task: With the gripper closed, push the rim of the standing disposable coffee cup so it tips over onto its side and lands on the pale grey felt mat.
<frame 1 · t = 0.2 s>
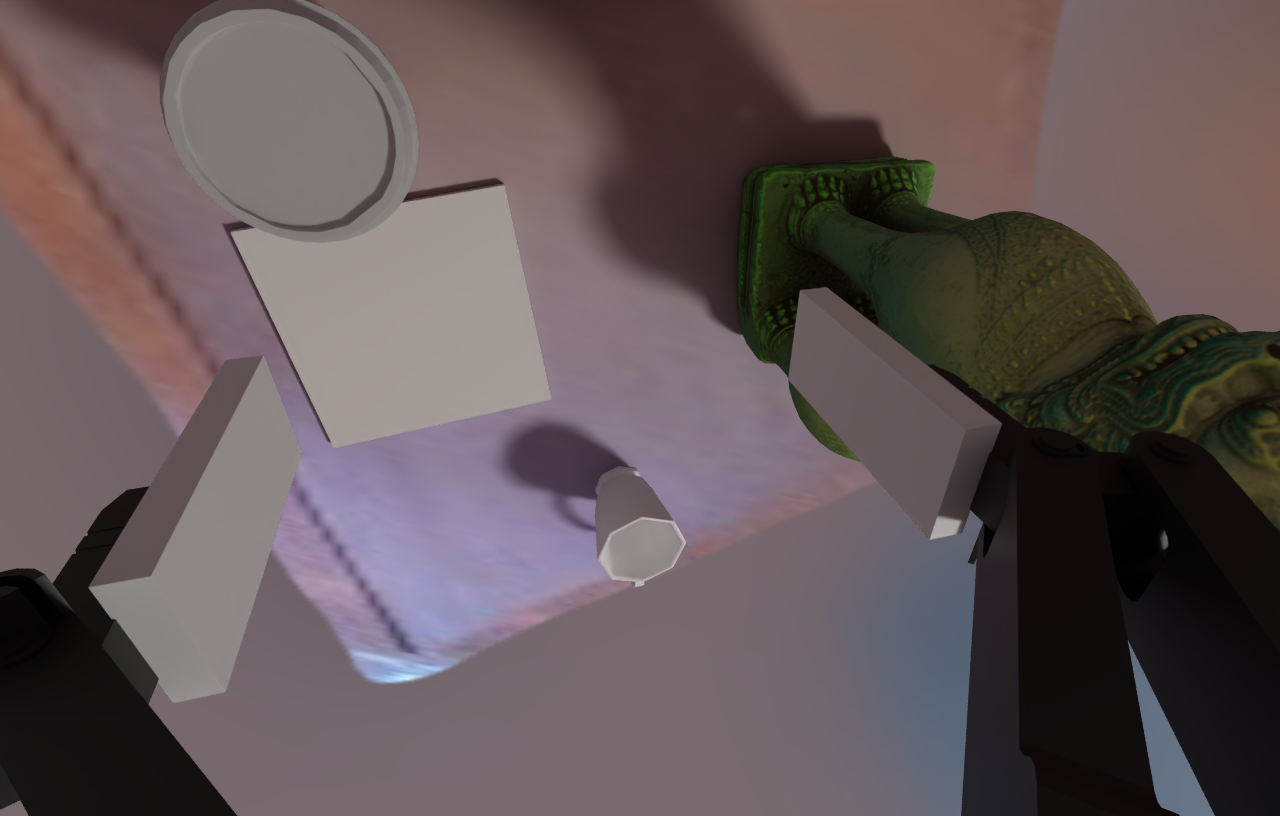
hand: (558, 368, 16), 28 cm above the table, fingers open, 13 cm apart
disposable coffee cup: (335, 96, 35), on the table
cup: (619, 497, 56), on the table
felt mat: (412, 323, 43), on the table
lion statue: (806, 256, 48), on the table
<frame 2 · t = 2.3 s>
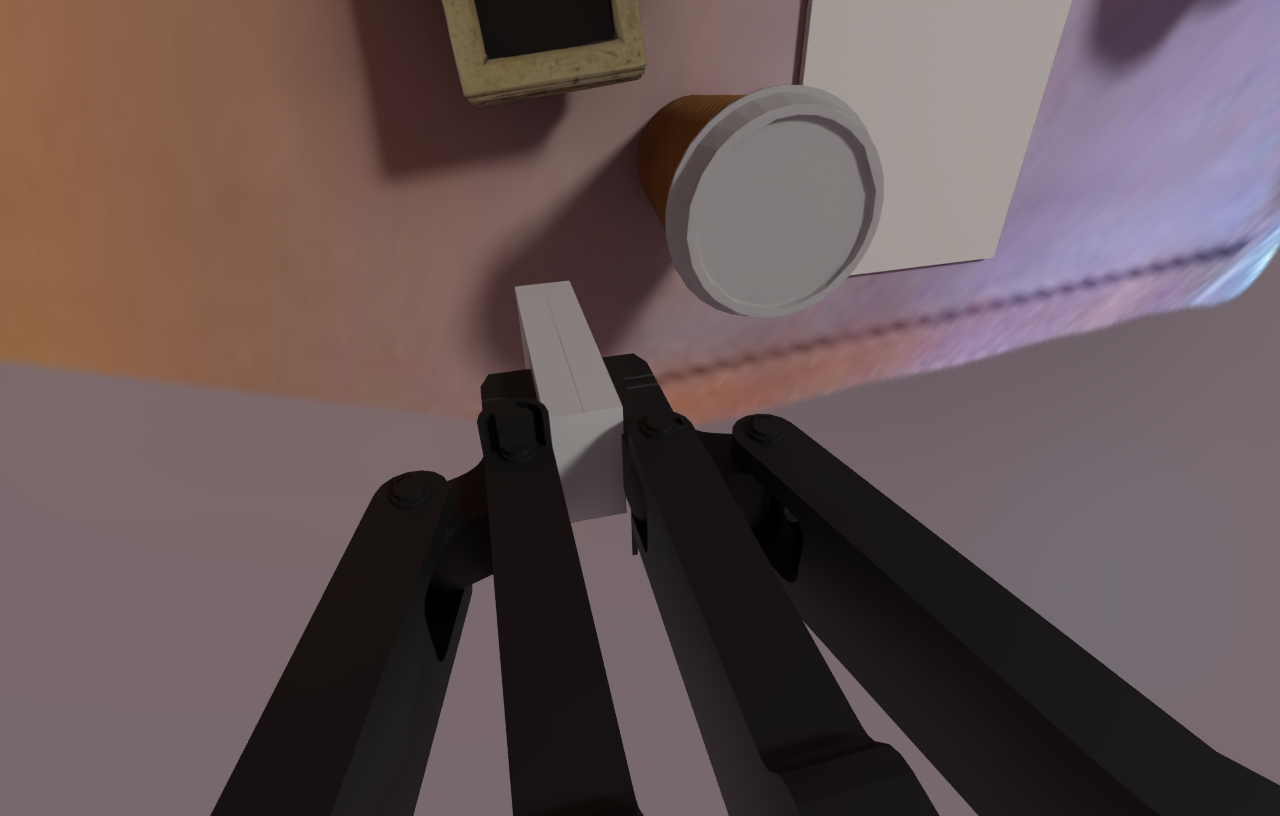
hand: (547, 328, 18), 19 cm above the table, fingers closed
disposable coffee cup: (691, 156, 35), on the table
felt mat: (913, 140, 38), on the table
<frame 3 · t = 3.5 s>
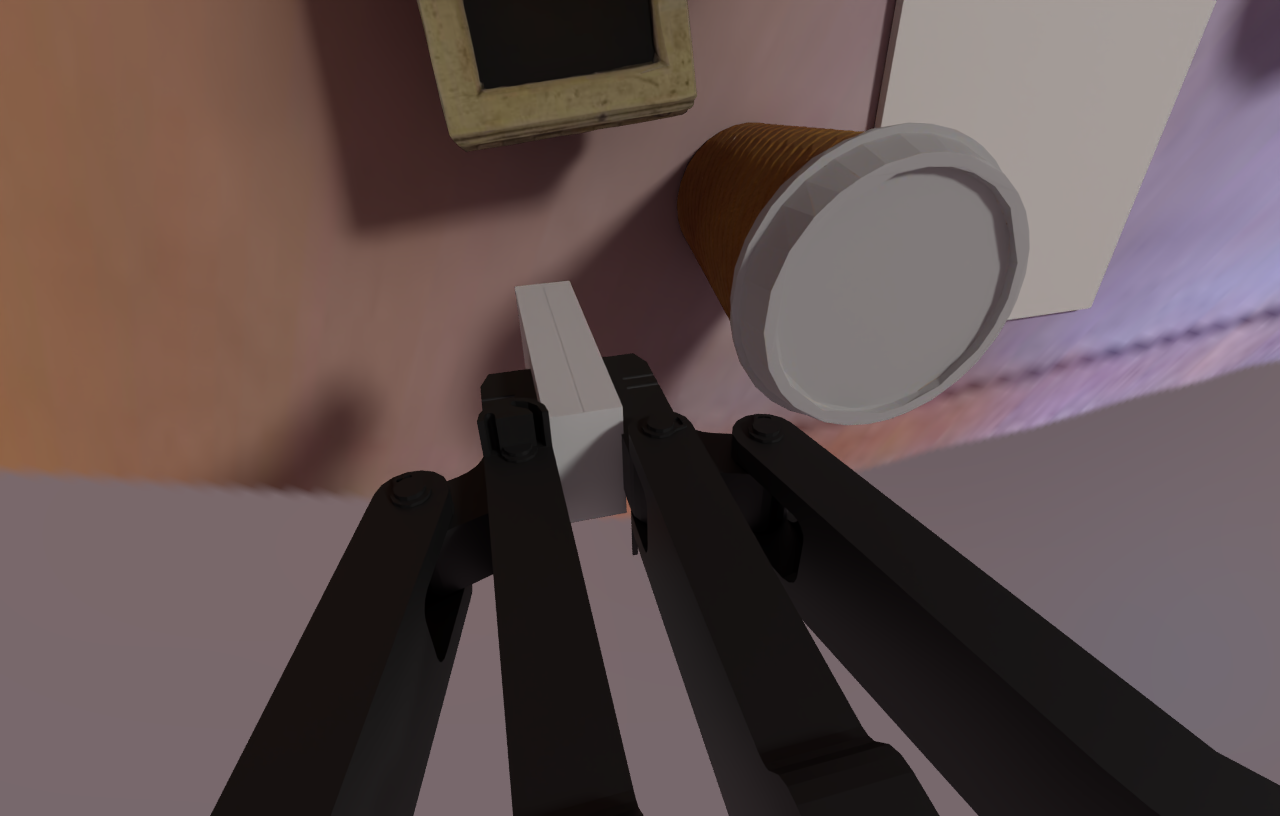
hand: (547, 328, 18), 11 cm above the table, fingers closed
disposable coffee cup: (741, 197, 29), on the table
felt mat: (1009, 174, 31), on the table
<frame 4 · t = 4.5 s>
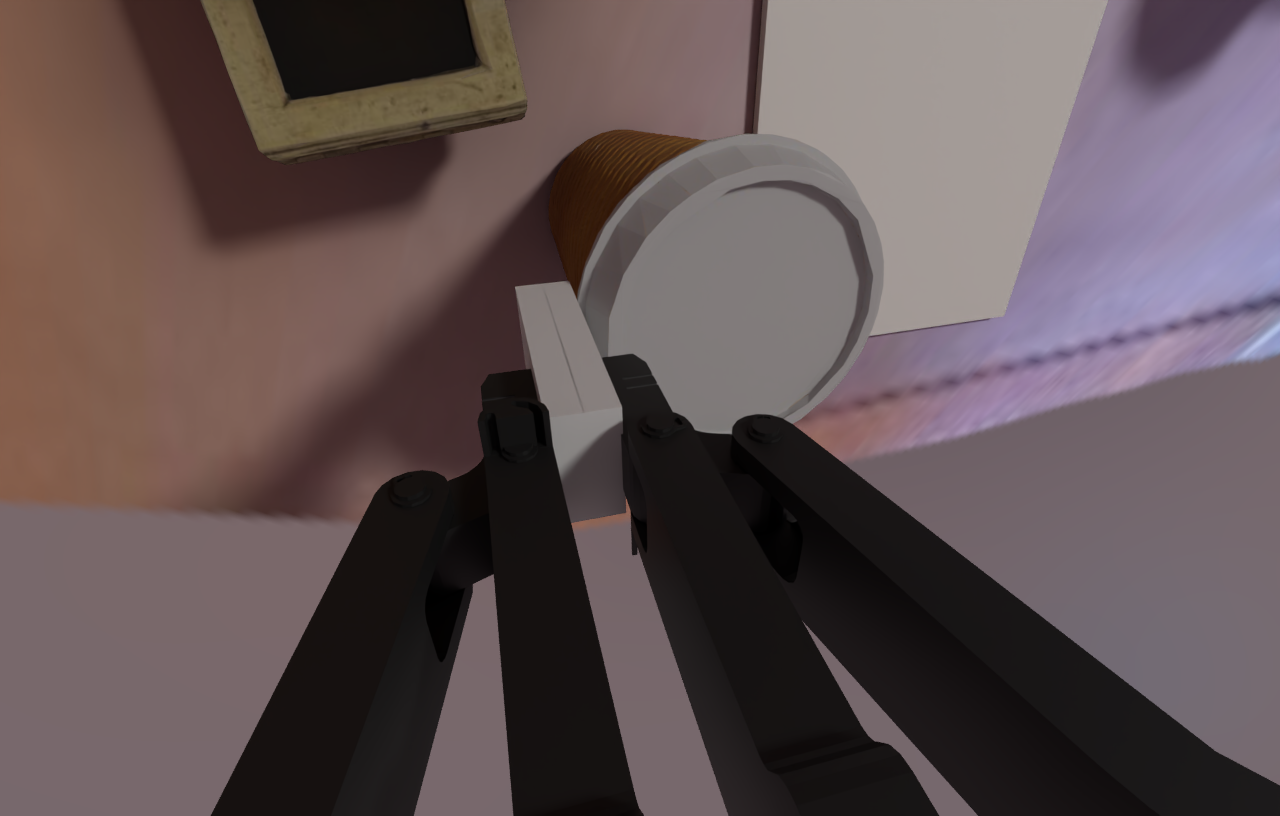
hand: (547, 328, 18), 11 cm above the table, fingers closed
disposable coffee cup: (619, 207, 27), on the table
felt mat: (904, 180, 30), on the table
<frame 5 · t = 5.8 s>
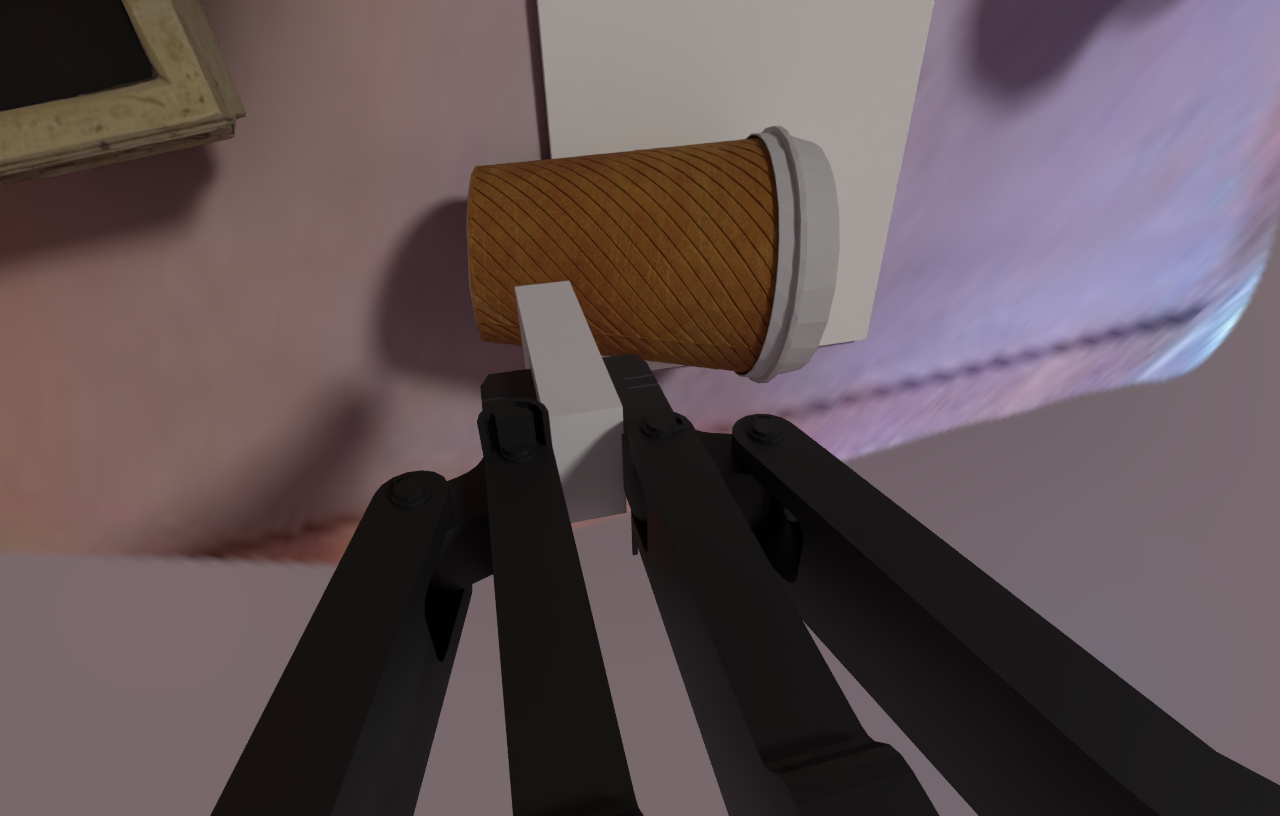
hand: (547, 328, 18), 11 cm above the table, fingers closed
disposable coffee cup: (474, 256, 23), point 3 cm above the table, touching felt mat
felt mat: (732, 198, 28), on the table
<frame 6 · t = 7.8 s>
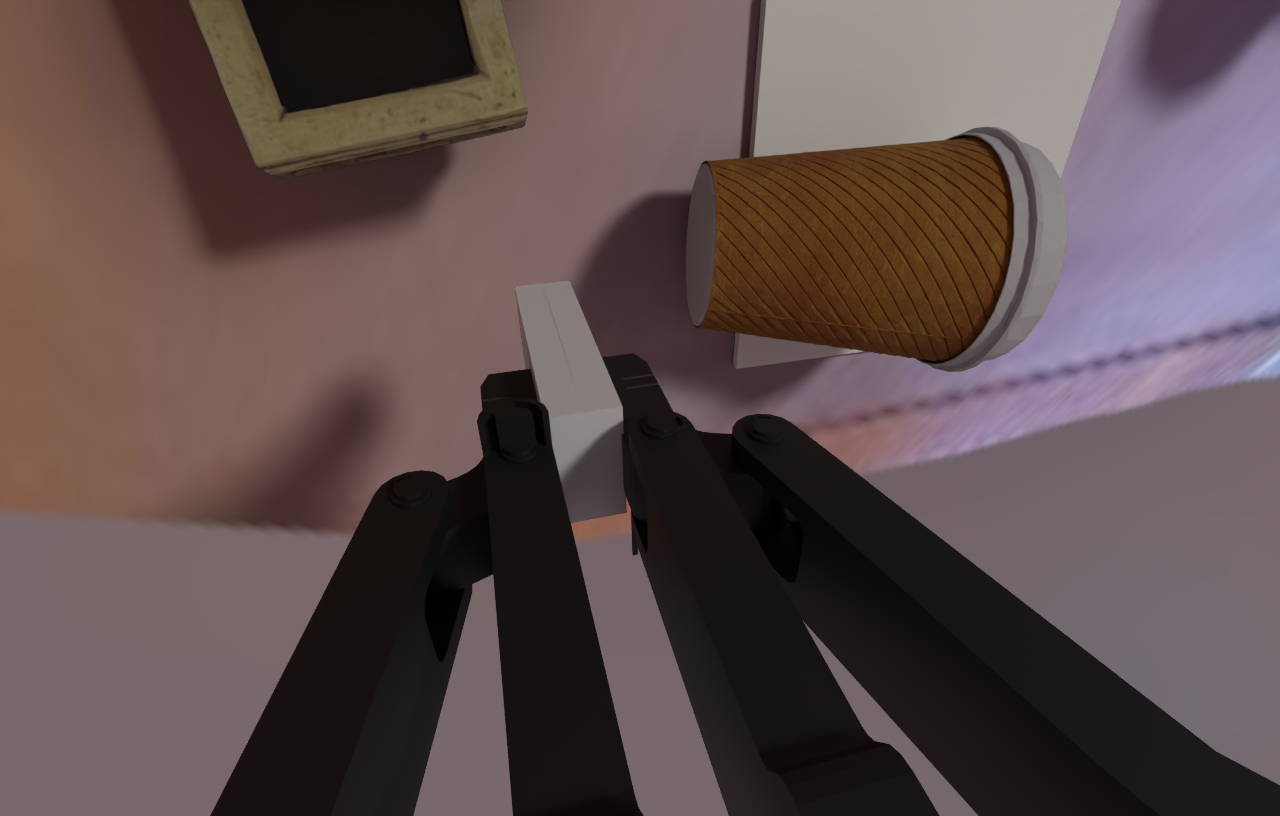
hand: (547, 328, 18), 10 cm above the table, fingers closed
disposable coffee cup: (692, 246, 25), point 3 cm above the table, touching felt mat
felt mat: (906, 192, 30), on the table
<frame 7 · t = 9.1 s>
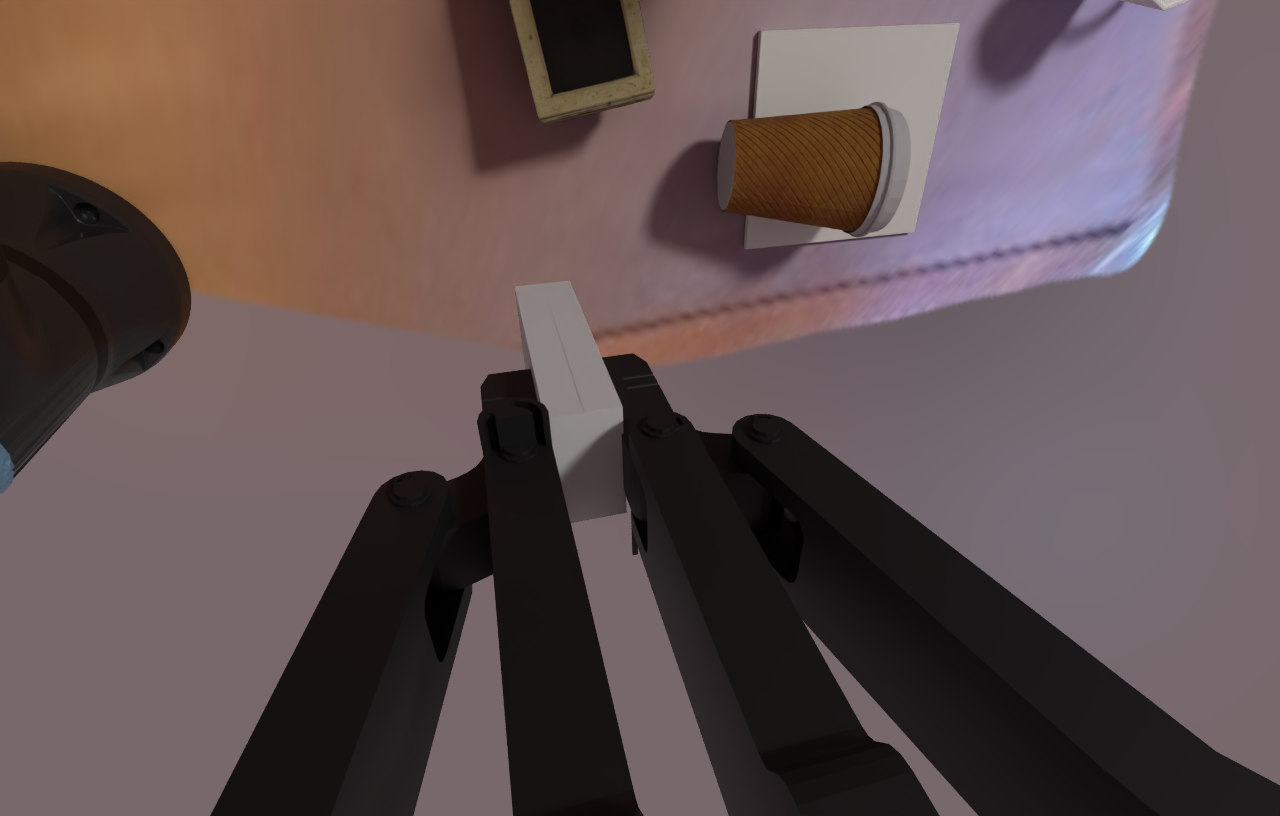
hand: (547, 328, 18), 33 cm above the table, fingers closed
disposable coffee cup: (722, 166, 47), point 3 cm above the table, touching felt mat
felt mat: (843, 141, 51), on the table
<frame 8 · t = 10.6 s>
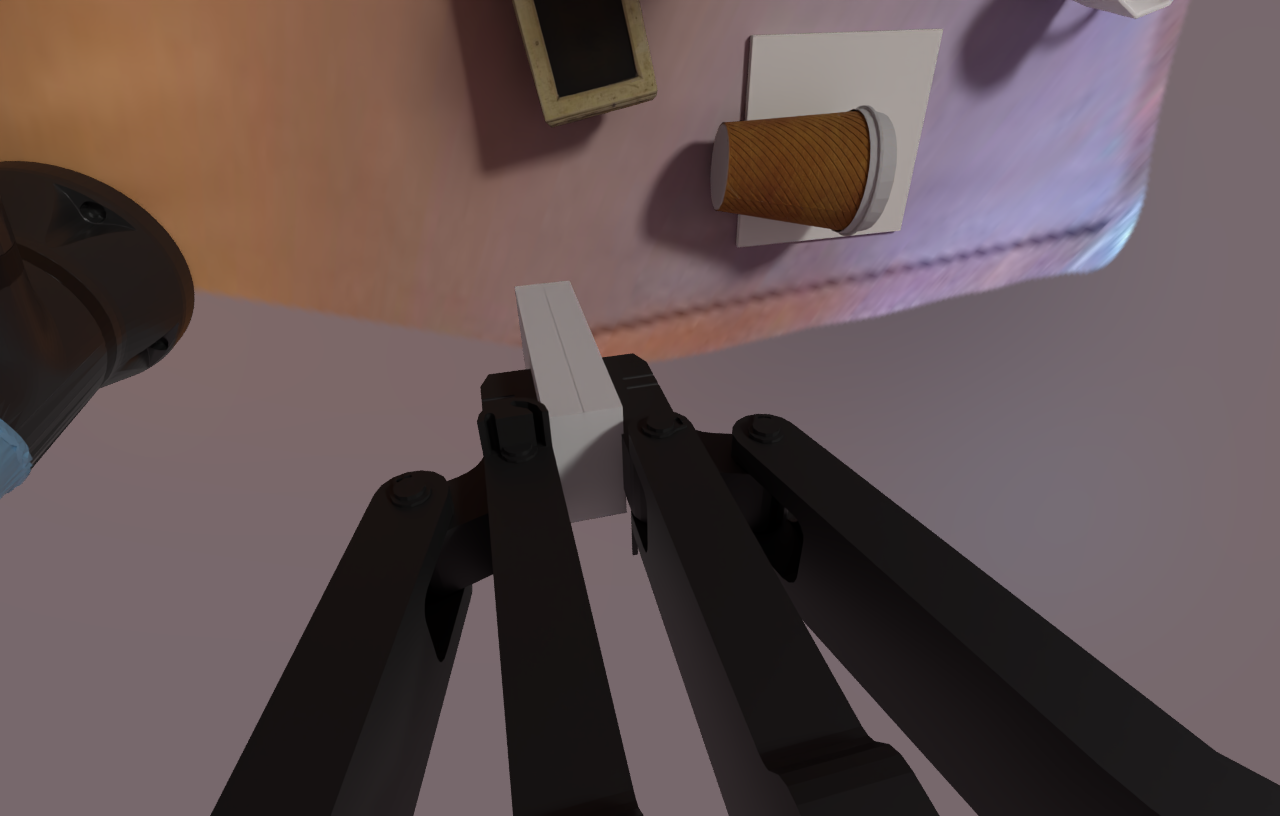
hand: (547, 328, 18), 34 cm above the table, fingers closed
disposable coffee cup: (715, 167, 48), point 3 cm above the table, touching felt mat
felt mat: (832, 143, 53), on the table
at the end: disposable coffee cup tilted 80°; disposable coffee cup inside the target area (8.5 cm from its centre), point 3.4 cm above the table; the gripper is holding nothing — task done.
